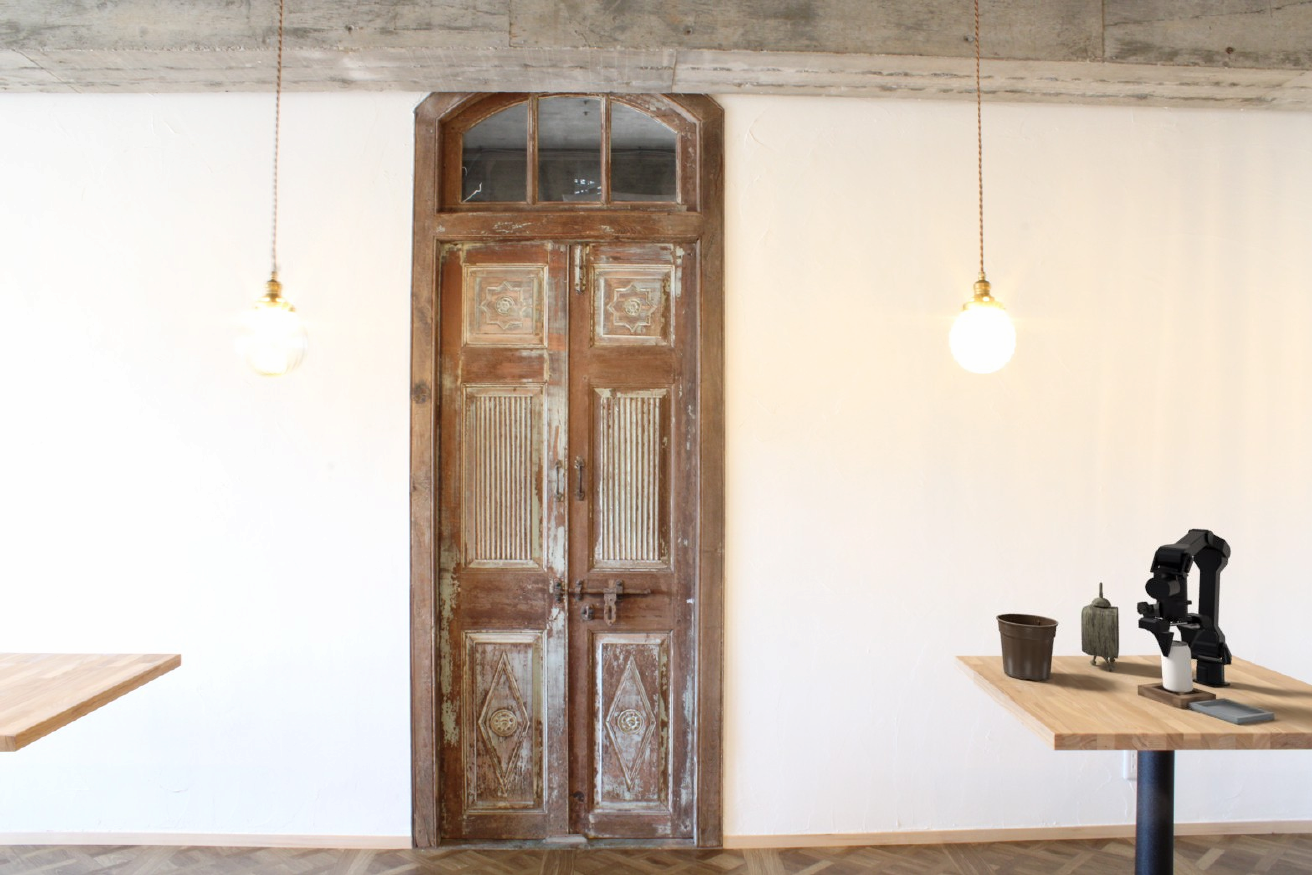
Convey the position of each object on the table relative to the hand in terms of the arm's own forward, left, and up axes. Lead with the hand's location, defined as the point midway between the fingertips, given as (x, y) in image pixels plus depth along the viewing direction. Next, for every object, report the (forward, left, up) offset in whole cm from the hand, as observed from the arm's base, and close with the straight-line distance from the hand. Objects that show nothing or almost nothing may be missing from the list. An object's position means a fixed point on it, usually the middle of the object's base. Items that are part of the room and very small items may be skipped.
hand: (1175, 655), depth 200 cm
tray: (-2, +13, -11) cm, 17 cm away
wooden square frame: (0, 0, -11) cm, 11 cm away
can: (-1, 0, -9) cm, 9 cm away
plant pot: (+20, -29, -12) cm, 37 cm away
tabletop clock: (-8, -30, -12) cm, 33 cm away
